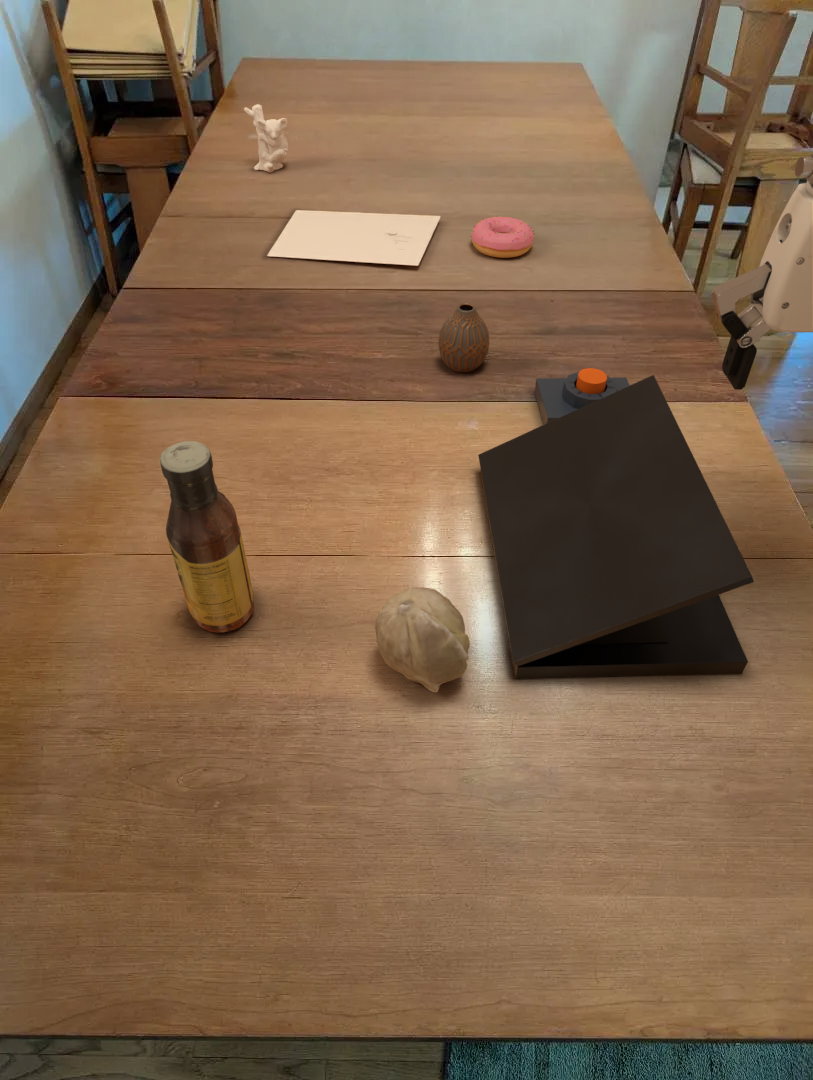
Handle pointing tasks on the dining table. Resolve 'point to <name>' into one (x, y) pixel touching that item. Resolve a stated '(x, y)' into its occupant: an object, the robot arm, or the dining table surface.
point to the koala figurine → (269, 139)
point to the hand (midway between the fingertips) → (788, 379)
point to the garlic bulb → (423, 637)
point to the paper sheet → (356, 237)
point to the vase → (464, 339)
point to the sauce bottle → (205, 541)
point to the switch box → (568, 395)
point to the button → (591, 381)
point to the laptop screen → (603, 524)
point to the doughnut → (502, 237)
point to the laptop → (649, 647)
